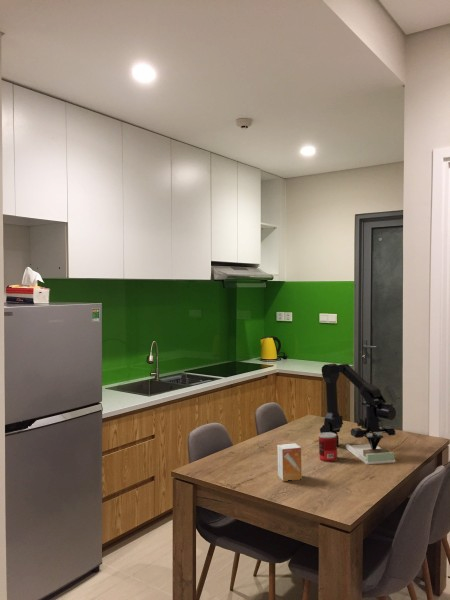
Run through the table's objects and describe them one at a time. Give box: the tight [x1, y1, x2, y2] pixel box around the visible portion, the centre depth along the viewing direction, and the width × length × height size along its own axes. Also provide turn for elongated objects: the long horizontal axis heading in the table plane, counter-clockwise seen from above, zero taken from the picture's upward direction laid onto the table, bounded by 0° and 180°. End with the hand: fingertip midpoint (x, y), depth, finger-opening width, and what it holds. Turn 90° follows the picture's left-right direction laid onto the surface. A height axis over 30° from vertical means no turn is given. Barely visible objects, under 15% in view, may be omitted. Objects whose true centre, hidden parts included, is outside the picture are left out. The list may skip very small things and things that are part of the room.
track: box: [345, 443, 396, 465], centre depth 230 cm, size 13×24×4 cm, turn 8°
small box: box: [276, 443, 303, 482], centre depth 203 cm, size 8×6×13 cm
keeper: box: [363, 447, 390, 457], centre depth 222 cm, size 10×4×3 cm, turn 98°
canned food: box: [318, 432, 338, 463], centre depth 225 cm, size 8×8×11 cm
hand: (373, 450), depth 225 cm, fingers closed, pressing on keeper
